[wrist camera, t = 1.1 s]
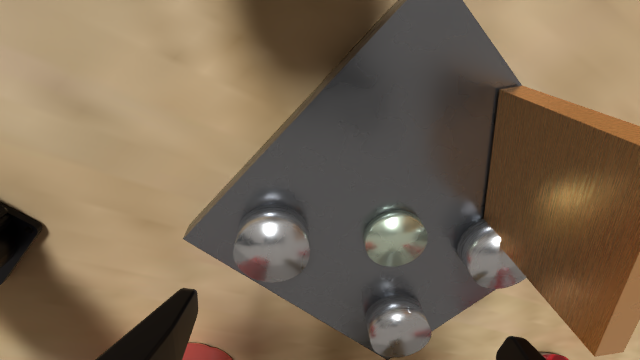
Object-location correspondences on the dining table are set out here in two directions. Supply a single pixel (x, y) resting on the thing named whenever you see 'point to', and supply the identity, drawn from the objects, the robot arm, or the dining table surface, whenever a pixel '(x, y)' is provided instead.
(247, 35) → the dining table surface
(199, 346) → the flower pot
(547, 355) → the soda can
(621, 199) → the thick wooden plank
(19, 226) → the robot arm
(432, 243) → the tribrach plate
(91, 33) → the dining table surface
